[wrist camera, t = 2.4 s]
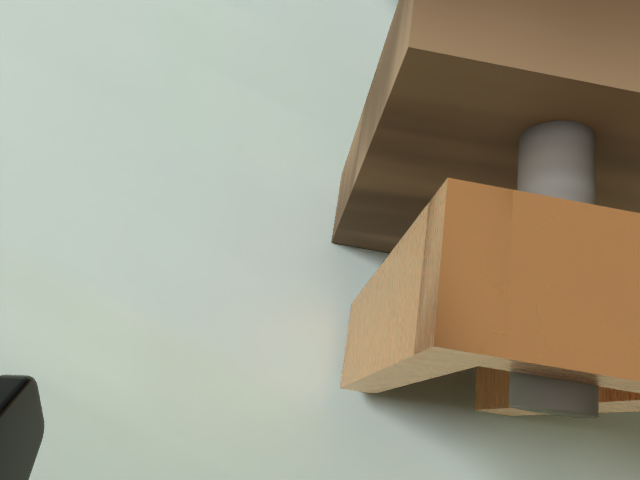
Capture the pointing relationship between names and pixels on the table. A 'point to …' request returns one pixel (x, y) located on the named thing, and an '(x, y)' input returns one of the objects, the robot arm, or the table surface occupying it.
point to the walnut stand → (498, 125)
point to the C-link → (504, 298)
